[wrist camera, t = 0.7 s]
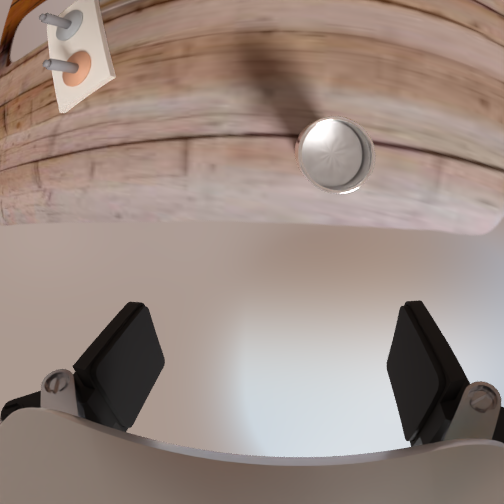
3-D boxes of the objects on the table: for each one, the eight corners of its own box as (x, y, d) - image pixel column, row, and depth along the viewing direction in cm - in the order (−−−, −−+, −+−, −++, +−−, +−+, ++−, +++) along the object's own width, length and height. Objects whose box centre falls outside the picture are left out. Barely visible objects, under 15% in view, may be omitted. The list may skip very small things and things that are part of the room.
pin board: (51, 27, 30) (19, 19, 21) (97, -9, 27) (66, -25, 19) (65, 112, 37) (26, 113, 28) (116, 77, 34) (77, 68, 25)
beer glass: (292, 173, 37) (292, 192, 23) (295, 122, 34) (297, 108, 20) (343, 179, 36) (373, 201, 22) (347, 128, 34) (381, 120, 20)
